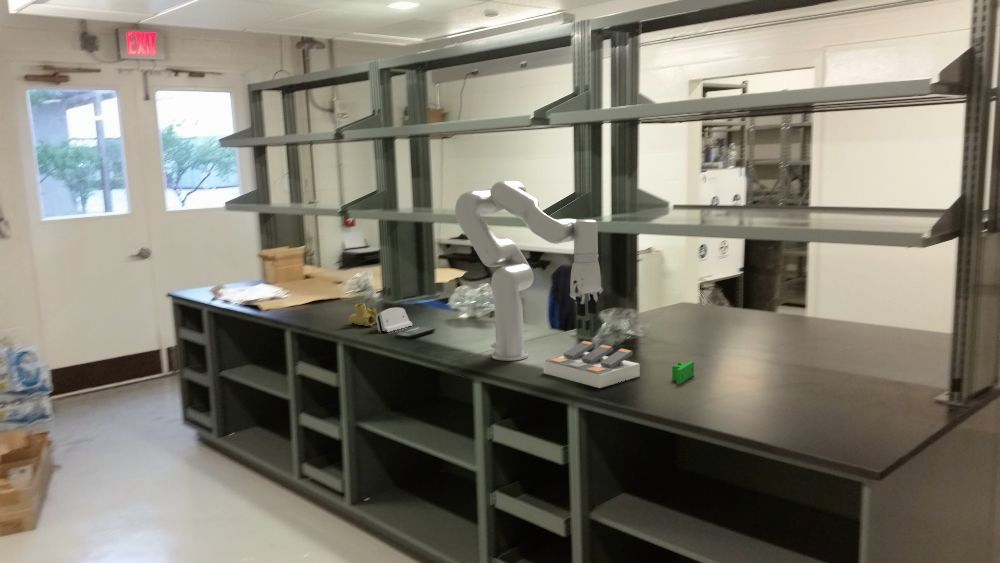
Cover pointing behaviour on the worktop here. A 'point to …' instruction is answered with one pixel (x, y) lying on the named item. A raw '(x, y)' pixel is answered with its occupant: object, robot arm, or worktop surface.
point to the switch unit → (591, 371)
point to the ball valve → (363, 315)
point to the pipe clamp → (682, 371)
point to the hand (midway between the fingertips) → (586, 313)
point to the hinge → (392, 319)
